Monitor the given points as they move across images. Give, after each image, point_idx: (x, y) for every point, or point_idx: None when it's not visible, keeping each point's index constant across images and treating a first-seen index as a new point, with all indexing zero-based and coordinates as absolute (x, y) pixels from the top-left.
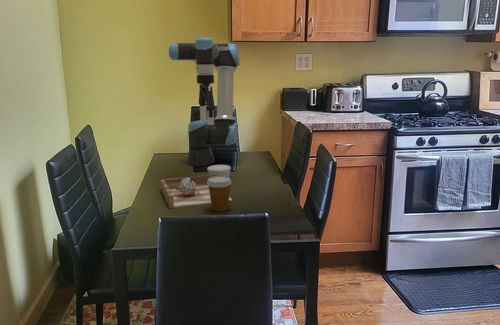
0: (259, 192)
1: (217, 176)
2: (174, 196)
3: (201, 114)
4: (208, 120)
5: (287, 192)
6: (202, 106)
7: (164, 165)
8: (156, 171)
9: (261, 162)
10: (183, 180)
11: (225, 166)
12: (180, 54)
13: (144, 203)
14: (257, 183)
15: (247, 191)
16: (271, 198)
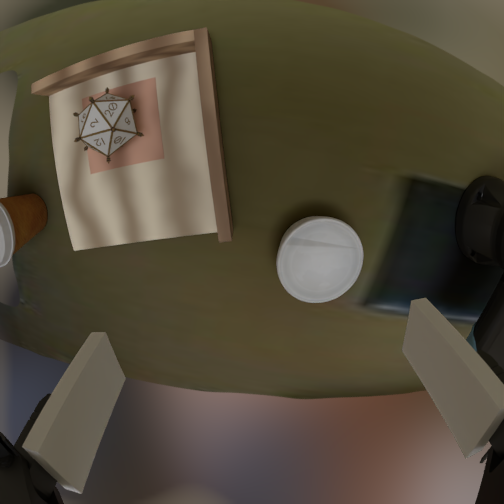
0: (134, 327)
1: (1, 234)
2: (122, 84)
3: (441, 347)
4: (77, 367)
5: (132, 377)
6: (485, 429)
7: (490, 107)
8: (440, 64)
9: (409, 374)
10: (88, 110)
11: (328, 287)
12: None
13: (105, 15)
14: (215, 342)
15: (145, 303)
16: None
